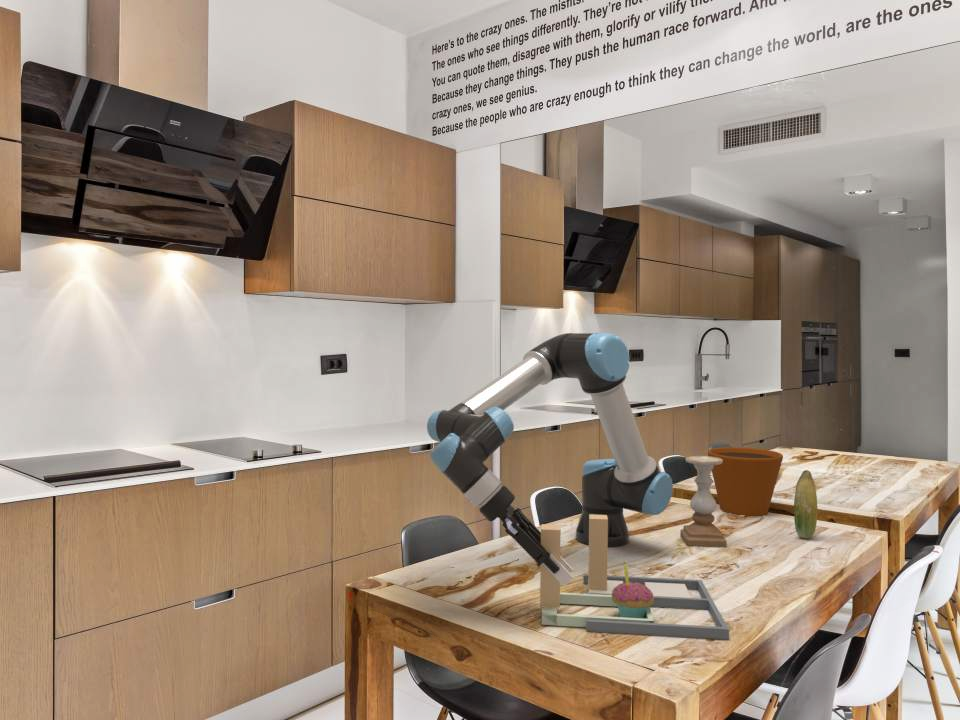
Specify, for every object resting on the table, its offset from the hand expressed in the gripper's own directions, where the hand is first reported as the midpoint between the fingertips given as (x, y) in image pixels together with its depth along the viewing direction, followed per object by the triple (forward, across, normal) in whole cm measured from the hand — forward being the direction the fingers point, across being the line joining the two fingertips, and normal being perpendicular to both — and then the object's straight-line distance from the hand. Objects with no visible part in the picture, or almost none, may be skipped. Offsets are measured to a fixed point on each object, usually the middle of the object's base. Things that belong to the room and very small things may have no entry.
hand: (568, 577), depth 146 cm
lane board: (+17, -6, +6) cm, 19 cm away
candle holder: (+33, -60, +21) cm, 71 cm away
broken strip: (+16, -14, +6) cm, 22 cm away
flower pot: (+47, -99, +36) cm, 116 cm away
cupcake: (+15, 0, +4) cm, 15 cm away
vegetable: (+54, -67, +43) cm, 96 cm away
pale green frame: (+9, 0, -1) cm, 9 cm away
